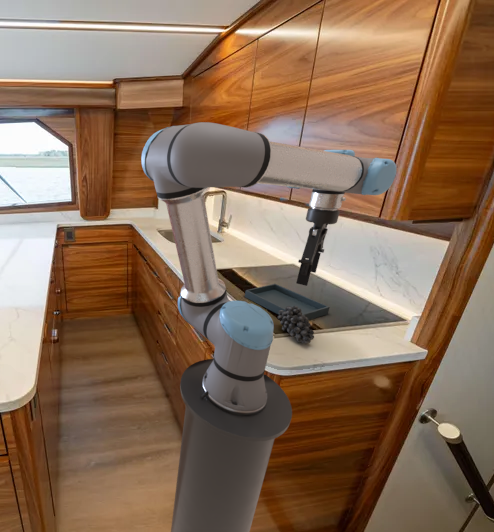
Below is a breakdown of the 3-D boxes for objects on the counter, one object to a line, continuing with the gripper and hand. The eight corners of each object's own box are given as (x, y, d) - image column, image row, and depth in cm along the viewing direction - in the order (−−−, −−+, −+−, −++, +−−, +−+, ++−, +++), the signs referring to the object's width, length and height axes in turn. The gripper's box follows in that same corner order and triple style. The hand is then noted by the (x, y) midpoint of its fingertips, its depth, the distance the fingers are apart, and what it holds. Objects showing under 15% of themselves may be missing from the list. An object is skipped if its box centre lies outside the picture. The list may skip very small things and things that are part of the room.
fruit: (321, 324, 87) (298, 299, 101) (291, 329, 89) (272, 305, 103) (324, 347, 90) (301, 321, 104) (294, 353, 92) (275, 325, 105)
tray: (296, 324, 104) (298, 316, 103) (244, 296, 124) (245, 290, 123) (327, 314, 111) (329, 306, 110) (273, 289, 131) (275, 283, 129)
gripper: (334, 216, 73) (313, 294, 80) (345, 204, 90) (327, 269, 98) (299, 212, 77) (282, 286, 85) (316, 202, 95) (301, 264, 102)
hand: (306, 277), depth 91 cm, fingers open, 13 cm apart
